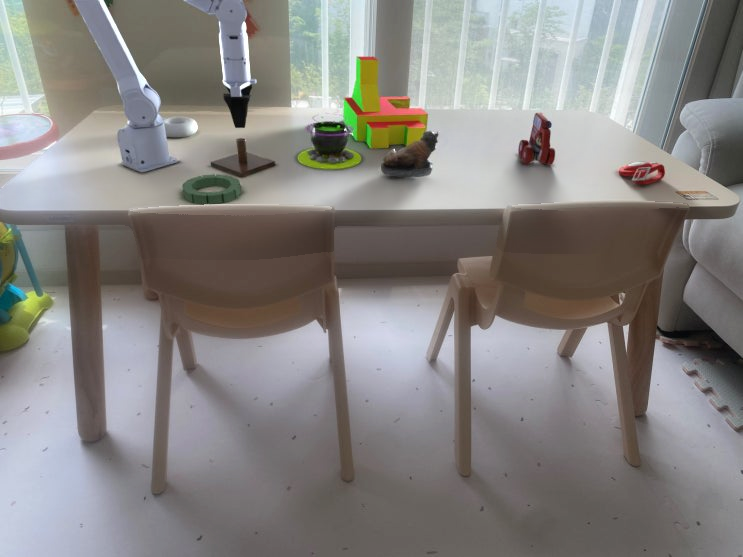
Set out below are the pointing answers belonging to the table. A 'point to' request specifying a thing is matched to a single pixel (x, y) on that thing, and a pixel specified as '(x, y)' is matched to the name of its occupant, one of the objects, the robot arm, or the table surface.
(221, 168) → the post
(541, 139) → the toy fire truck
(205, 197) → the ring
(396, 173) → the brown cat figurine
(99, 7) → the robot arm
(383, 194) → the table surface
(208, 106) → the table surface
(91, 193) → the table surface
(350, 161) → the toy cauldron
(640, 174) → the tracker holder
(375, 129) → the building blocks toy
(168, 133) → the donut
